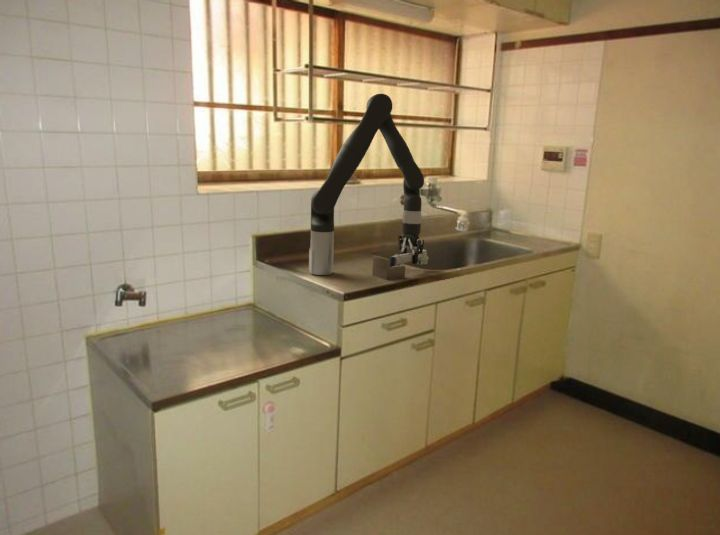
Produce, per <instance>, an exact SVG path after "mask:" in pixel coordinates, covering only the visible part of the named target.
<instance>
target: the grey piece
mask: <svg viewBox="0 0 720 535" xmlns="http://www.w3.org/2000/svg"><path fill="white" fill-rule="evenodd" d="M419 251H420V249H419ZM412 255H413V253H412V252H408V253H406V254H402V253H400V254H397V253H395V254H394V255H392V256H390V257H389V258H388V259H389V260H390V266H392V267H400V266H401V265H403V264H406V263H409V262H412ZM429 259H430V258H429V256H428V253H427V250H426V249H423V251H422V254H419V255H418V262H417V264H416V265H419V266H420V265H427V264H428V260H429Z"/></svg>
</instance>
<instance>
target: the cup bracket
mask: <svg viewBox="0 0 720 535" xmlns="http://www.w3.org/2000/svg"><path fill="white" fill-rule="evenodd" d="M371 275H372V276H374V277H376V278H380V279H382V280H385V281H389V280H396V279H405V277H406V266H404V265H402V266H401V265H399V266H390V260H389V258H385V257H382V256H379V255H372V274H371Z"/></svg>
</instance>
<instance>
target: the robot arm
mask: <svg viewBox="0 0 720 535" xmlns="http://www.w3.org/2000/svg"><path fill="white" fill-rule="evenodd" d="M365 107H366V109H365V112H364V114H363V116H362V118H361V120H360V122H359V123H358V125H357V126H356V127H355V128H354V130H352V132H351V133H350V134H349V136H348V137H347V138H346V140H345V141H344V143H343V144H342V146H341V148H340V149H339V151H338V153H337V154H336V157H335V158H334V161H333V163H332V167H331V168H330V171H329V173H328V176H327V178H326V179H325V180H324V182H323V184H322V185H321V187H320V188H319V189H318V190H317V191H315V192H314V193H313V194H312V196H311V199H310V200H311V201H310V246H309V249H308V272H309V274H311V275H314V276H315V275H316V276H329V275H332V274H333V272H334V246H335V245H334V243H335V242H334V241H335V208H336V204H337V202H338V200H339V198H340V196H341V193H342V192H343V189H344V188H345V186H346V185H347V183H348V182H349V180H350V179H351V178H352V177H353V175H354V173H355V172H356V170H357V168H359V166H360V165H361V162H362V161H363V159H364V157H365V155H366V153H367V152H368V150H369V149H370V146H371V144H372V142H373V140H374V138H375V135H376V134H377V132H378V131H380V134H381V135H382V137H383V140H384V141H385V143H386V146H387V148H388V149H389V152H390V153H391V154H390V155H391V156H392V159H393V160H394V162H395V164H396V166H397V167H398V169H399V170H400V171H401V173H402V175H403V177H404V178H403V182H402V185H403V196H404V197H403V198H404V200H403V212H402V223H401V224H402V225H401V232H402V233H403V234H401V235H399V234H398V236H397V240H398V241H397V243H398V250H399V251H401V254H406V253H409V252H408V250H409V249H410V250H411V253H413V255H412V261H411V263H412V265H418V264H417V262H418V255H419V254H422V251H423V250H424V245H425V240H424V239H421V238H420V234H421V232H422V231H421V230H422V197H421V196H420V195H421V193H420V192H421V189H422V188H423V186H424V184H425V177H424V174H423V172H422V171H421V169H420V167H419V166H418V164H417V163H416V161H415V160H414V156H413V155H412V152H411V150H410V148H409V147H408V145H407V142H406V140H405V139H404V138H403V136H402V135H401V133H400V132H399V130H398V128H397V126H396V124H395V122H394V120H393V117H392V111H393V102H392V99H391V97H390V96H389V95H387V94H385V93H377V94H374V95H372V96H371V97H370V98H369V99H368V100H367V102H366V106H365ZM419 250H420V251H419Z"/></svg>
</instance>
